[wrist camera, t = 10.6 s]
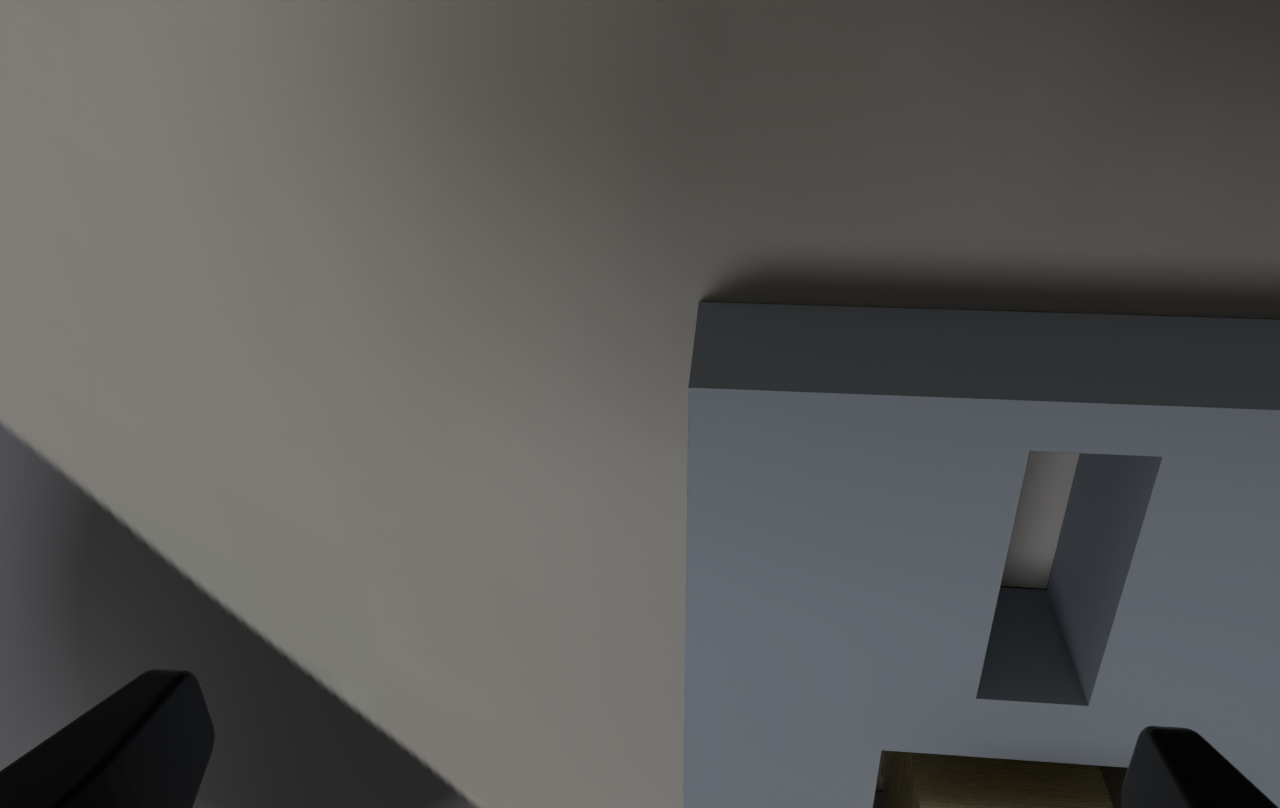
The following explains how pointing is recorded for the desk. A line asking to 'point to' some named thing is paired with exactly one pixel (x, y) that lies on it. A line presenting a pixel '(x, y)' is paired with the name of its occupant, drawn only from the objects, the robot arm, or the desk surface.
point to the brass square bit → (988, 783)
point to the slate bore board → (973, 544)
